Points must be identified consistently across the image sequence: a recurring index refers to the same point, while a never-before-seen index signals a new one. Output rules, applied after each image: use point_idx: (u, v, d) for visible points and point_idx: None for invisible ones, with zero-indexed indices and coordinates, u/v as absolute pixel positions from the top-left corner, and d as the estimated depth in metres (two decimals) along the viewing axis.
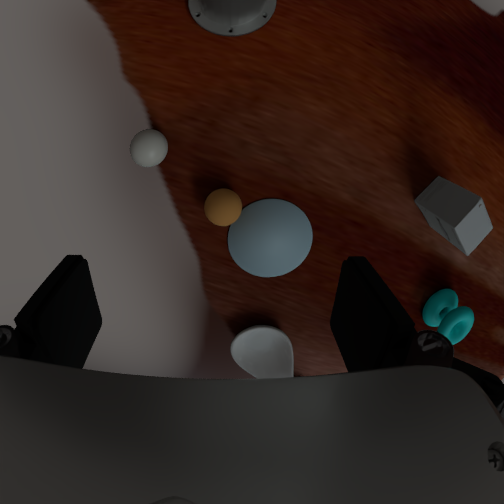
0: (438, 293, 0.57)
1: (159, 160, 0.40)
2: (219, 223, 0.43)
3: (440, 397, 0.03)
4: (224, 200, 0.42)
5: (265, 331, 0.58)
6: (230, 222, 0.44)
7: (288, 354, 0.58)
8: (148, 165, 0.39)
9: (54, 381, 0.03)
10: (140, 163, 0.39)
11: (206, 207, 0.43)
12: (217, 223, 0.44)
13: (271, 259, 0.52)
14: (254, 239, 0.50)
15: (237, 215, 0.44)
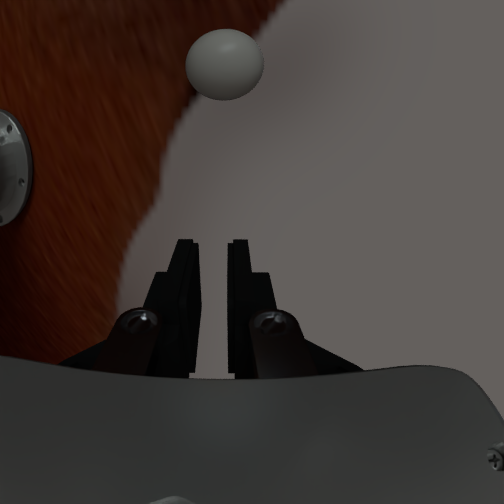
0: None
1: (228, 29, 0.16)
2: None
3: (440, 397, 0.03)
4: None
5: None
6: None
7: None
8: (249, 39, 0.17)
9: (54, 381, 0.03)
10: (255, 53, 0.17)
11: None
12: None
13: None
14: None
15: None
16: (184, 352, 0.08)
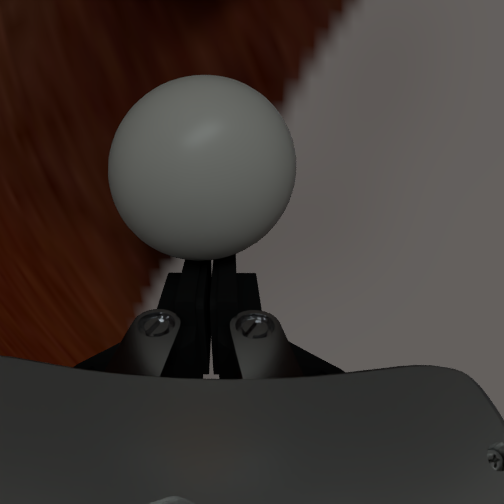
0: None
1: None
2: None
3: (440, 397, 0.03)
4: None
5: None
6: None
7: None
8: None
9: (54, 381, 0.03)
10: (275, 111, 0.07)
11: None
12: None
13: None
14: None
15: None
16: (199, 354, 0.08)
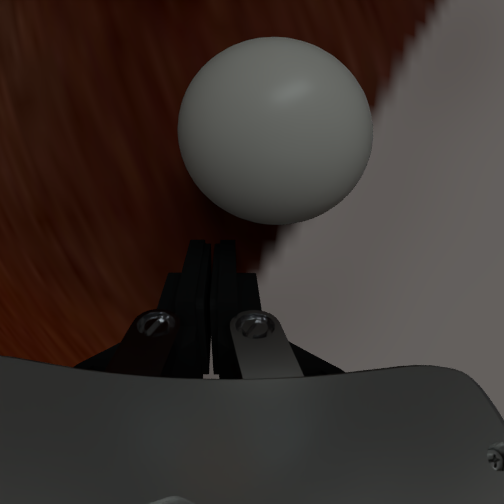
0: None
1: None
2: None
3: (440, 397, 0.03)
4: None
5: None
6: None
7: None
8: None
9: (54, 381, 0.03)
10: None
11: None
12: None
13: None
14: None
15: None
16: (199, 354, 0.08)
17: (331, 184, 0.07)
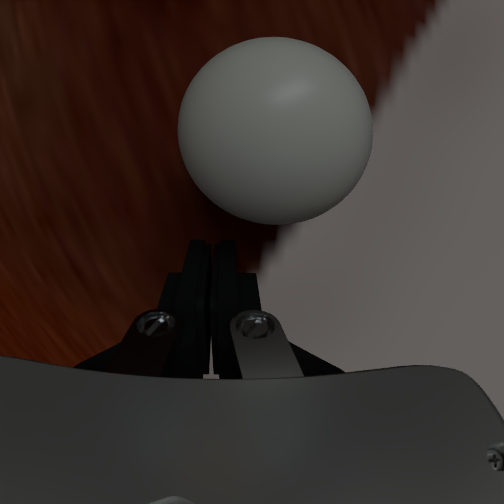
0: None
1: None
2: None
3: (440, 397, 0.03)
4: None
5: None
6: None
7: None
8: None
9: (54, 381, 0.03)
10: None
11: None
12: None
13: None
14: None
15: None
16: (199, 354, 0.08)
17: (331, 184, 0.07)
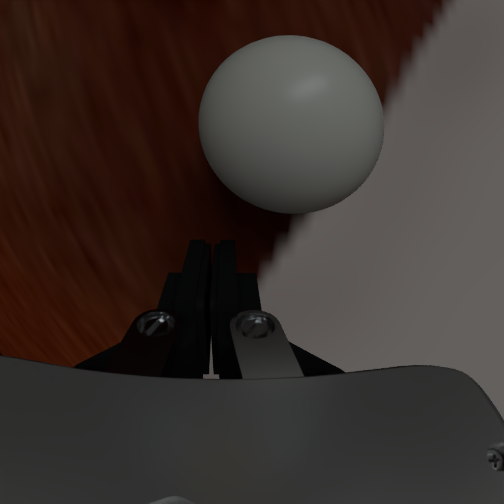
0: None
1: None
2: None
3: (440, 397, 0.03)
4: None
5: None
6: None
7: None
8: None
9: (54, 381, 0.03)
10: None
11: None
12: None
13: None
14: None
15: None
16: (199, 354, 0.08)
17: (346, 174, 0.07)
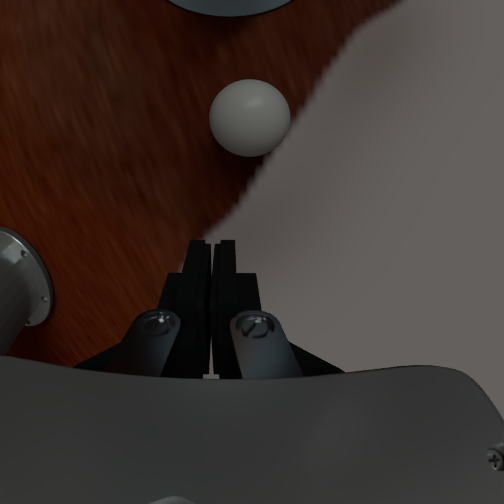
0: None
1: None
2: None
3: (440, 397, 0.03)
4: None
5: None
6: None
7: None
8: None
9: (54, 381, 0.03)
10: None
11: None
12: None
13: None
14: None
15: None
16: (199, 354, 0.08)
17: (267, 135, 0.18)
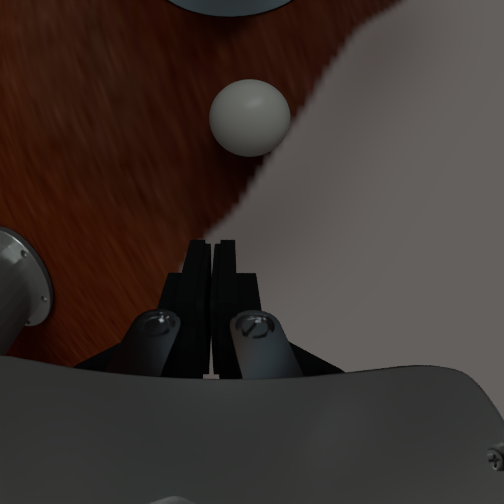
0: None
1: None
2: None
3: (440, 397, 0.03)
4: None
5: None
6: None
7: None
8: None
9: (54, 381, 0.03)
10: None
11: None
12: None
13: None
14: None
15: None
16: (199, 354, 0.08)
17: (267, 135, 0.18)
